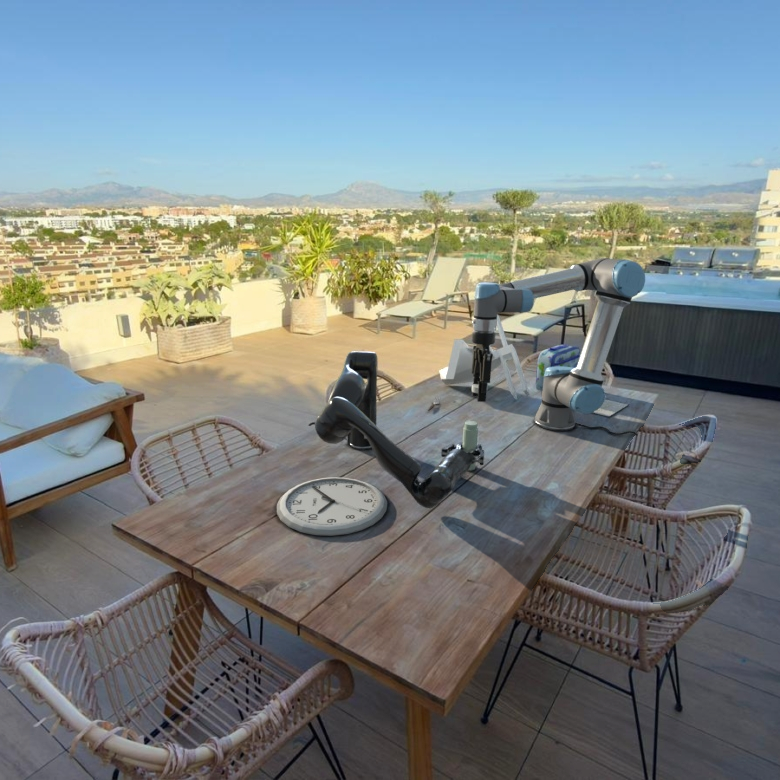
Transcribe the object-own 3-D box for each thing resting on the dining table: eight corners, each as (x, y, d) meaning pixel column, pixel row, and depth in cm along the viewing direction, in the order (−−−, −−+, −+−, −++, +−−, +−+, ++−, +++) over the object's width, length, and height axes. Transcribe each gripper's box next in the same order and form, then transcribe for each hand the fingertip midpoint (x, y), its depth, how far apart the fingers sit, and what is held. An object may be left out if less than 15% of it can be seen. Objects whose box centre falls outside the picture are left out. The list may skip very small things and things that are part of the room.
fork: (425, 411, 216) (425, 407, 215) (435, 400, 230) (435, 396, 230) (431, 412, 215) (431, 408, 214) (441, 401, 229) (441, 396, 229)
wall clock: (392, 527, 129) (268, 531, 127) (391, 533, 130) (269, 537, 127) (383, 473, 158) (282, 475, 155) (383, 478, 158) (282, 480, 156)
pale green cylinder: (475, 465, 168) (479, 421, 164) (474, 471, 164) (477, 426, 160) (462, 463, 169) (464, 419, 165) (460, 469, 165) (462, 424, 161)
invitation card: (608, 416, 214) (573, 407, 224) (608, 416, 214) (573, 408, 224) (628, 404, 229) (594, 396, 238) (628, 405, 229) (594, 397, 238)
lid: (468, 390, 178) (469, 384, 178) (481, 388, 180) (481, 383, 180) (477, 394, 174) (477, 388, 173) (490, 392, 176) (490, 387, 175)
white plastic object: (461, 429, 252) (437, 405, 227) (444, 352, 274) (420, 323, 250) (535, 404, 240) (518, 377, 215) (510, 326, 262) (492, 293, 237)
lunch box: (552, 397, 237) (557, 352, 231) (531, 392, 245) (535, 348, 238) (579, 386, 255) (584, 344, 249) (558, 381, 262) (563, 340, 256)
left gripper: (478, 459, 148) (494, 438, 163) (431, 449, 154) (451, 430, 169) (476, 482, 151) (493, 460, 165) (430, 472, 157) (450, 451, 171)
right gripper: (465, 326, 179) (461, 390, 186) (481, 336, 162) (476, 407, 169) (486, 326, 180) (481, 390, 187) (504, 336, 163) (498, 407, 170)
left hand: (471, 445), depth 167 cm, fingers closed on pale green cylinder, 4 cm apart
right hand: (478, 398), depth 178 cm, fingers closed on lid, 5 cm apart
